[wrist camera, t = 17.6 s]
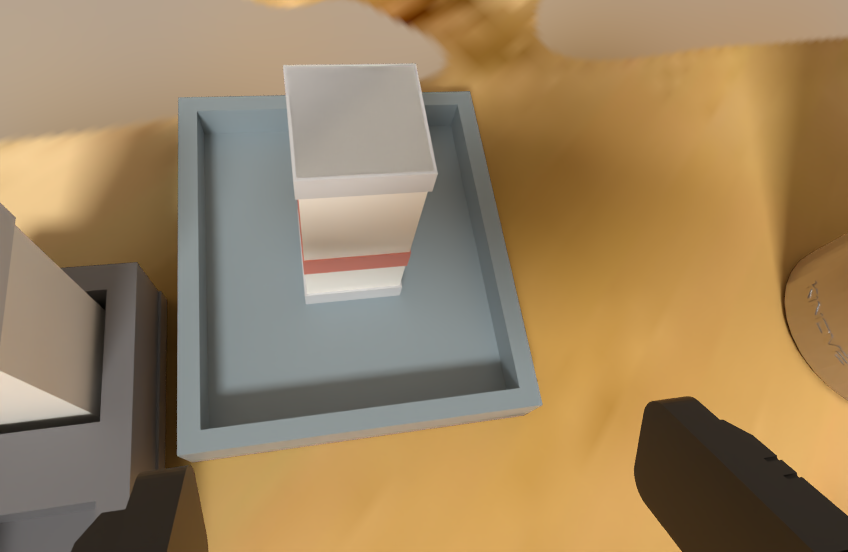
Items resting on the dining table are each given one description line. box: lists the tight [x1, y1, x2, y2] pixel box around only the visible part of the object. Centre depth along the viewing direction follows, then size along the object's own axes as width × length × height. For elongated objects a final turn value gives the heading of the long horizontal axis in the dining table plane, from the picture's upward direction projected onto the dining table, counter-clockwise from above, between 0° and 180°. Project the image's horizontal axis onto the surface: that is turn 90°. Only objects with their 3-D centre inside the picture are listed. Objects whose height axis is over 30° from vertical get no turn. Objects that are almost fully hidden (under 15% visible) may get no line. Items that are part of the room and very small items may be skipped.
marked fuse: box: [283, 63, 438, 304], centre depth 22 cm, size 4×4×10 cm
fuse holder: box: [0, 262, 167, 552], centre depth 20 cm, size 7×14×4 cm, turn 9°
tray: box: [177, 91, 542, 462], centre depth 26 cm, size 14×16×2 cm
